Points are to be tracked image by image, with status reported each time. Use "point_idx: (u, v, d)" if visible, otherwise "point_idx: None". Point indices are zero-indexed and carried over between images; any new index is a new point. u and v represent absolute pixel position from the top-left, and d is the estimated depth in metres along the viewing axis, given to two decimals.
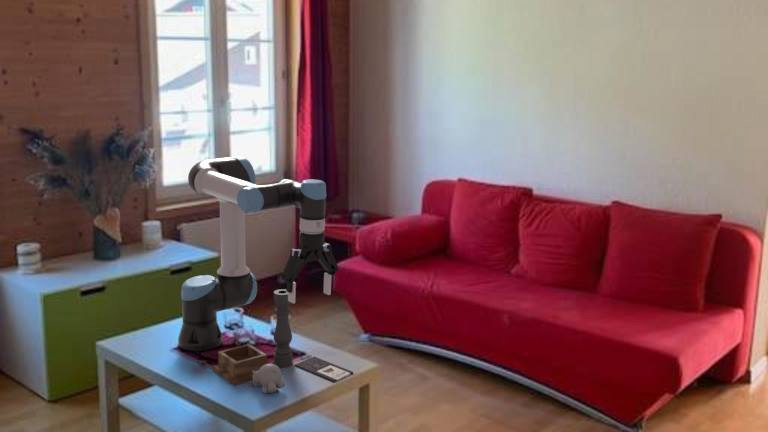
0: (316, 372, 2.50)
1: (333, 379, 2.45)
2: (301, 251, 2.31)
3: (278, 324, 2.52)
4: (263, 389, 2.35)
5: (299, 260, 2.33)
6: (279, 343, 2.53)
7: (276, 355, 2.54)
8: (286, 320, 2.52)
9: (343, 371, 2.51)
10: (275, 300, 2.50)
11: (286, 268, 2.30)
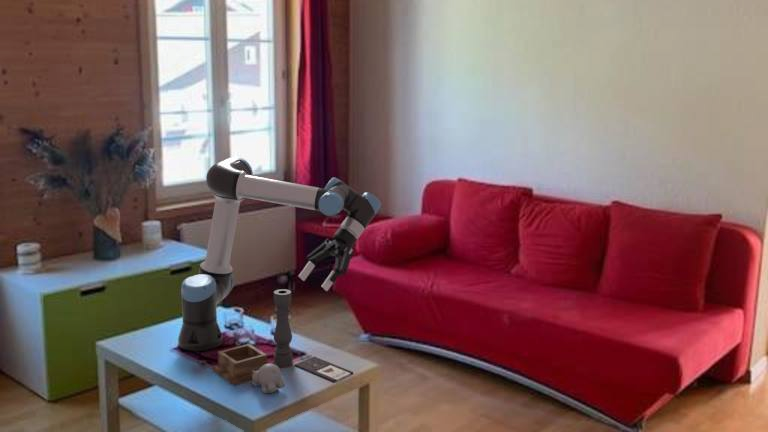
0: (316, 372, 2.50)
1: (333, 379, 2.45)
2: None
3: (278, 324, 2.52)
4: (263, 389, 2.35)
5: (340, 255, 2.58)
6: (279, 343, 2.53)
7: (276, 355, 2.54)
8: (286, 320, 2.52)
9: (343, 371, 2.51)
10: (275, 300, 2.50)
11: (345, 262, 2.54)
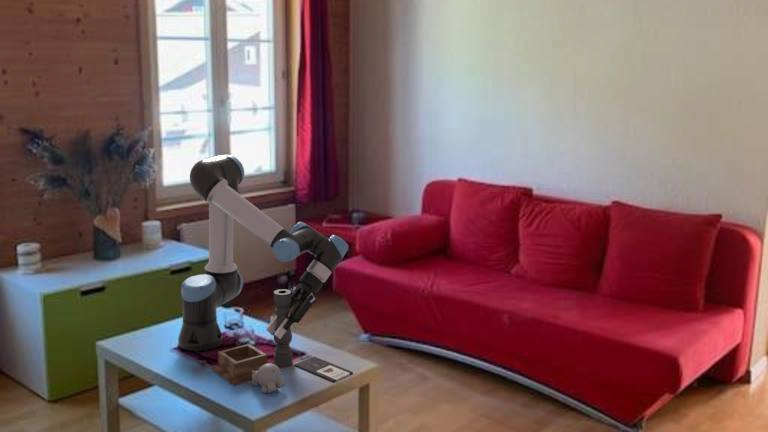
0: (316, 372, 2.50)
1: (332, 379, 2.45)
2: None
3: (278, 324, 2.52)
4: (263, 389, 2.35)
5: (301, 301, 2.54)
6: (279, 343, 2.53)
7: (276, 355, 2.54)
8: None
9: (343, 371, 2.51)
10: (275, 300, 2.50)
11: (301, 311, 2.50)
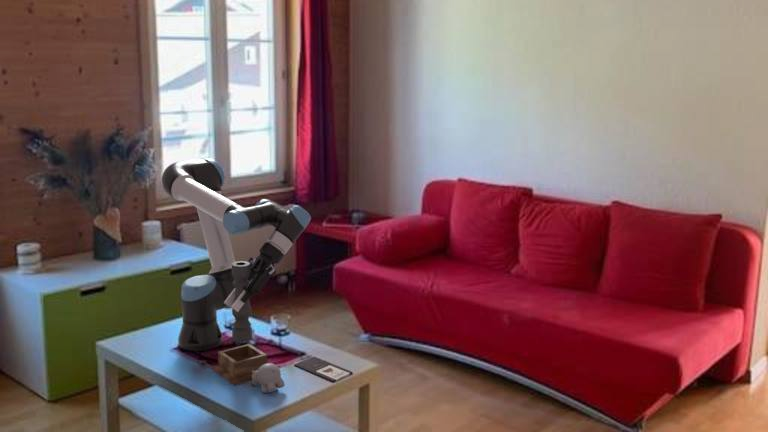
0: (315, 372, 2.50)
1: (332, 379, 2.45)
2: (272, 267, 2.44)
3: (236, 297, 2.43)
4: (262, 389, 2.35)
5: (260, 273, 2.44)
6: (237, 317, 2.43)
7: (235, 330, 2.45)
8: None
9: (342, 371, 2.51)
10: (233, 272, 2.40)
11: (260, 283, 2.41)
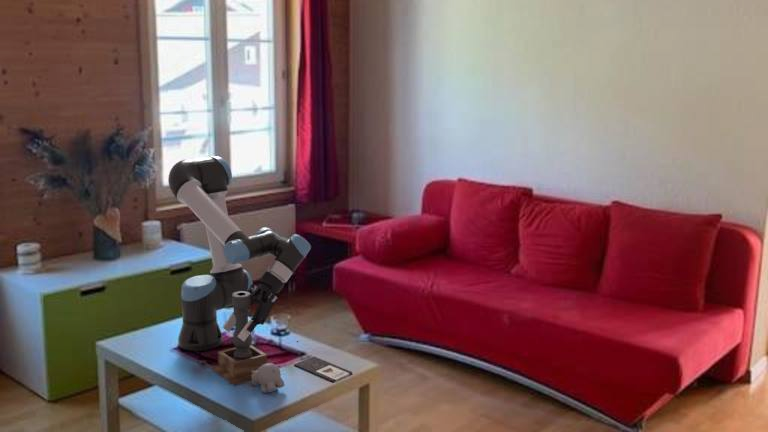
0: (315, 372, 2.50)
1: (332, 379, 2.45)
2: None
3: (237, 327, 2.45)
4: (262, 389, 2.35)
5: (262, 302, 2.46)
6: (238, 347, 2.45)
7: (235, 359, 2.47)
8: (245, 323, 2.45)
9: (342, 371, 2.51)
10: (233, 302, 2.43)
11: (265, 312, 2.42)
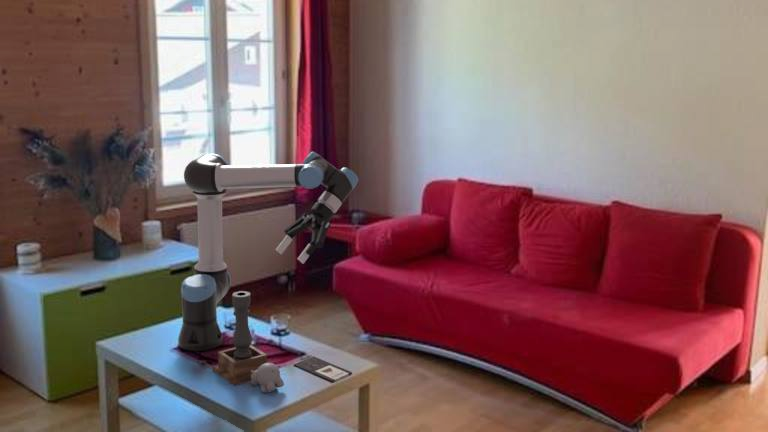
0: (314, 372, 2.50)
1: (331, 379, 2.45)
2: None
3: (237, 327, 2.45)
4: (262, 388, 2.35)
5: (316, 229, 2.60)
6: (238, 347, 2.45)
7: (235, 359, 2.47)
8: (245, 323, 2.45)
9: (341, 371, 2.51)
10: (233, 302, 2.43)
11: (321, 236, 2.56)
